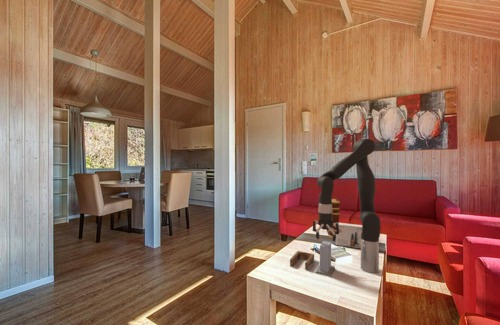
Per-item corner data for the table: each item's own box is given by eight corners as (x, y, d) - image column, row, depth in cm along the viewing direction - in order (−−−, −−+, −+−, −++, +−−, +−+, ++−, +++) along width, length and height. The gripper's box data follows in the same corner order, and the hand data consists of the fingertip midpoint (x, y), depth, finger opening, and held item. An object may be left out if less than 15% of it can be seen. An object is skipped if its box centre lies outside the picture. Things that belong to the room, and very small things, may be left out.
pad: (334, 267, 135) (334, 266, 135) (330, 276, 124) (330, 274, 124) (320, 264, 138) (320, 263, 138) (315, 272, 128) (315, 271, 128)
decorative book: (339, 238, 188) (340, 201, 188) (329, 237, 190) (329, 201, 190) (335, 230, 210) (335, 197, 210) (326, 229, 212) (326, 197, 212)
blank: (330, 266, 134) (331, 242, 134) (328, 272, 126) (328, 247, 126) (323, 264, 136) (323, 240, 136) (319, 270, 128) (319, 245, 128)
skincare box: (335, 245, 172) (336, 224, 172) (336, 242, 177) (336, 222, 177) (367, 249, 164) (367, 227, 164) (366, 246, 169) (366, 225, 169)
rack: (314, 260, 145) (314, 253, 145) (307, 270, 131) (307, 263, 131) (297, 256, 150) (297, 250, 150) (289, 266, 136) (290, 259, 136)
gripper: (339, 211, 131) (340, 239, 131) (314, 209, 138) (314, 236, 138) (337, 213, 124) (338, 244, 124) (311, 211, 131) (311, 240, 131)
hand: (325, 240), depth 131 cm, fingers open, 8 cm apart
